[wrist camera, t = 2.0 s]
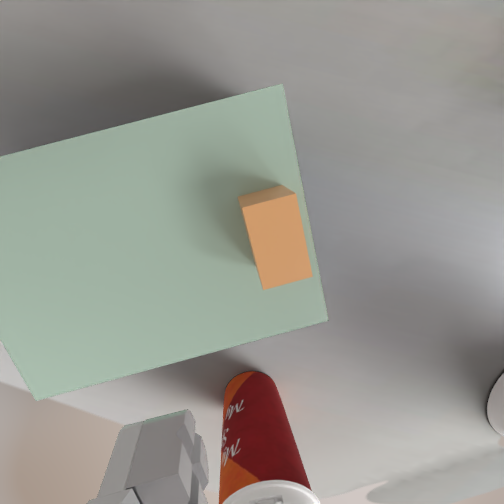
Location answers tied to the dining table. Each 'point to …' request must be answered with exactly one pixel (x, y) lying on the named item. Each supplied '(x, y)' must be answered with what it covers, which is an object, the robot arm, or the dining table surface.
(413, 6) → the dining table surface
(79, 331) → the lid
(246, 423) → the coffee cup
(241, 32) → the dining table surface
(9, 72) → the dining table surface
